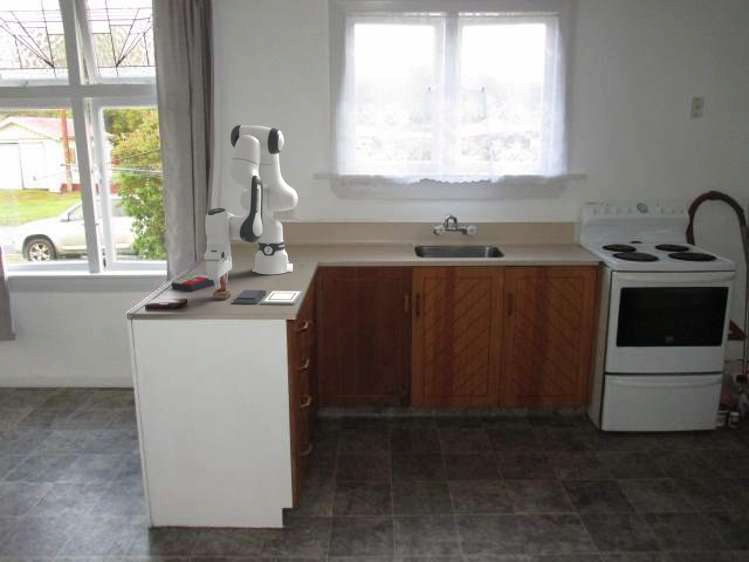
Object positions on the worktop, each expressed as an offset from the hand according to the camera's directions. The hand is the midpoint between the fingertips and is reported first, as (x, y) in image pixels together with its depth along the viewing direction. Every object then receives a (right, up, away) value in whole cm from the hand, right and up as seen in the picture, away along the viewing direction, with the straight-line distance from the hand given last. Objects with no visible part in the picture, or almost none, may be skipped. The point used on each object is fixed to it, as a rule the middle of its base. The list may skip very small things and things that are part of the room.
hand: (221, 286), depth 239 cm
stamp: (0, -5, +1) cm, 5 cm away
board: (+24, -5, -1) cm, 24 cm away
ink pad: (+11, -5, -1) cm, 12 cm away
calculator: (-16, -1, +20) cm, 26 cm away
